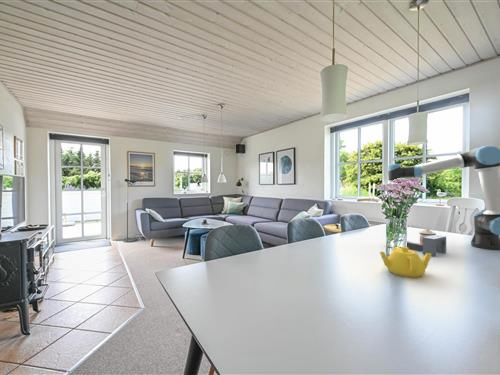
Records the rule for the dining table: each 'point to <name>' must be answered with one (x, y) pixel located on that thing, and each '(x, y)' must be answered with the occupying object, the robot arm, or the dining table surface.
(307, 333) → the dining table surface
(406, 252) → the teapot
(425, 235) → the teacup with lid
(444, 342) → the dining table surface
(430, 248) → the housing
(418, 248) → the plug
